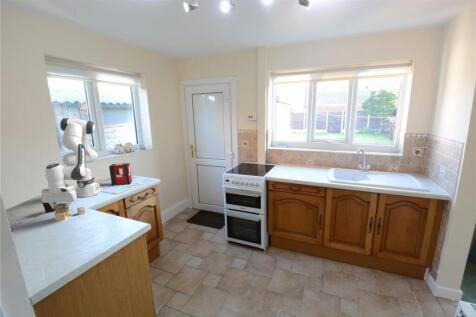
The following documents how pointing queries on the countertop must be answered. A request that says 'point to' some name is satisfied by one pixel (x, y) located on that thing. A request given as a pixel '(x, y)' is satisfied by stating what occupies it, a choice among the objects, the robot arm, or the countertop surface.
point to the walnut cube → (61, 208)
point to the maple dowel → (80, 210)
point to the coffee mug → (49, 207)
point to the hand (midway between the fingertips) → (61, 207)
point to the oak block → (63, 215)
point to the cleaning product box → (120, 174)
